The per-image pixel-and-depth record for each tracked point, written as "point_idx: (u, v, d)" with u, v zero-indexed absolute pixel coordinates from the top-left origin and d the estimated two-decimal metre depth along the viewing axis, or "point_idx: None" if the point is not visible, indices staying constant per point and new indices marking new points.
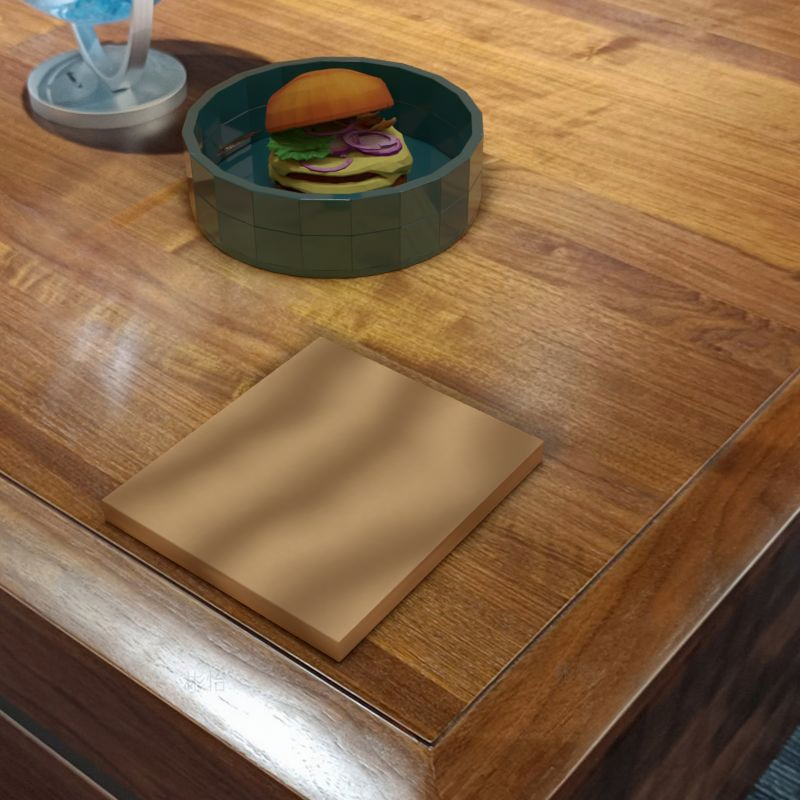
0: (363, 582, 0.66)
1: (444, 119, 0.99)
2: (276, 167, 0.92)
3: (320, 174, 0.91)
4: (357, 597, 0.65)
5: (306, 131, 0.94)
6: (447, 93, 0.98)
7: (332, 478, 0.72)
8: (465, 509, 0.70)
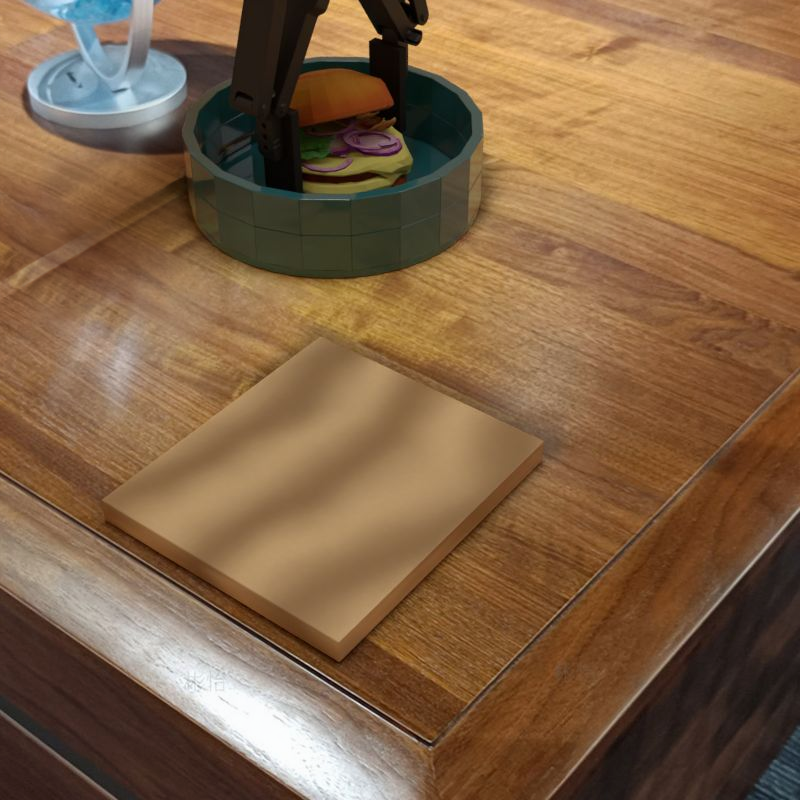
0: (363, 582, 0.66)
1: (444, 119, 0.99)
2: None
3: (320, 174, 0.91)
4: (357, 597, 0.65)
5: (306, 131, 0.94)
6: (447, 93, 0.98)
7: (332, 478, 0.72)
8: (465, 509, 0.70)
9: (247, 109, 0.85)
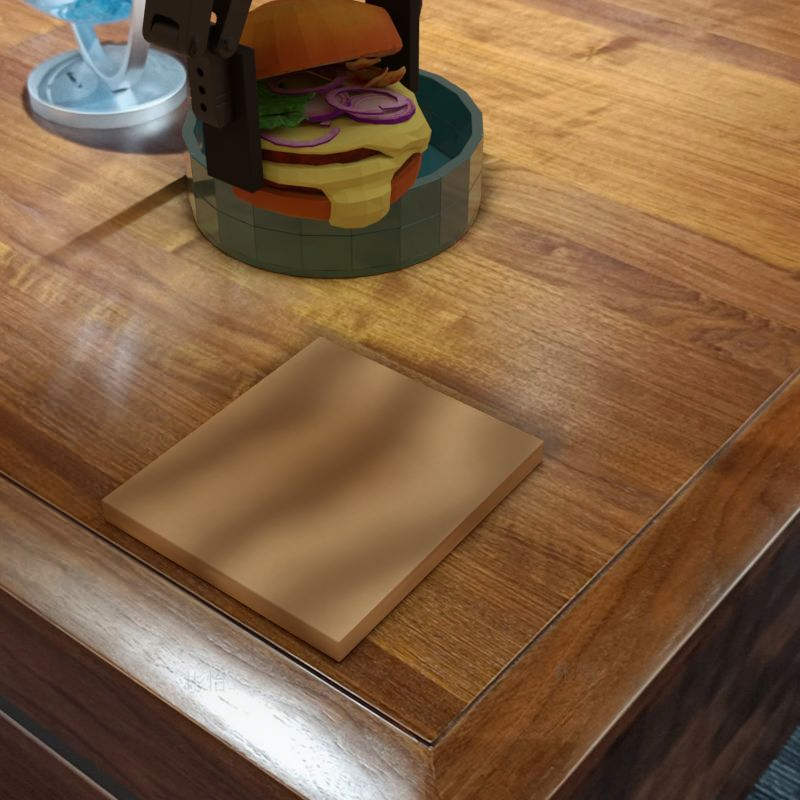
0: (363, 582, 0.66)
1: (444, 119, 0.99)
2: None
3: (290, 151, 0.59)
4: (357, 597, 0.65)
5: (270, 87, 0.62)
6: (447, 93, 0.98)
7: (332, 478, 0.72)
8: (465, 509, 0.70)
9: (171, 42, 0.53)
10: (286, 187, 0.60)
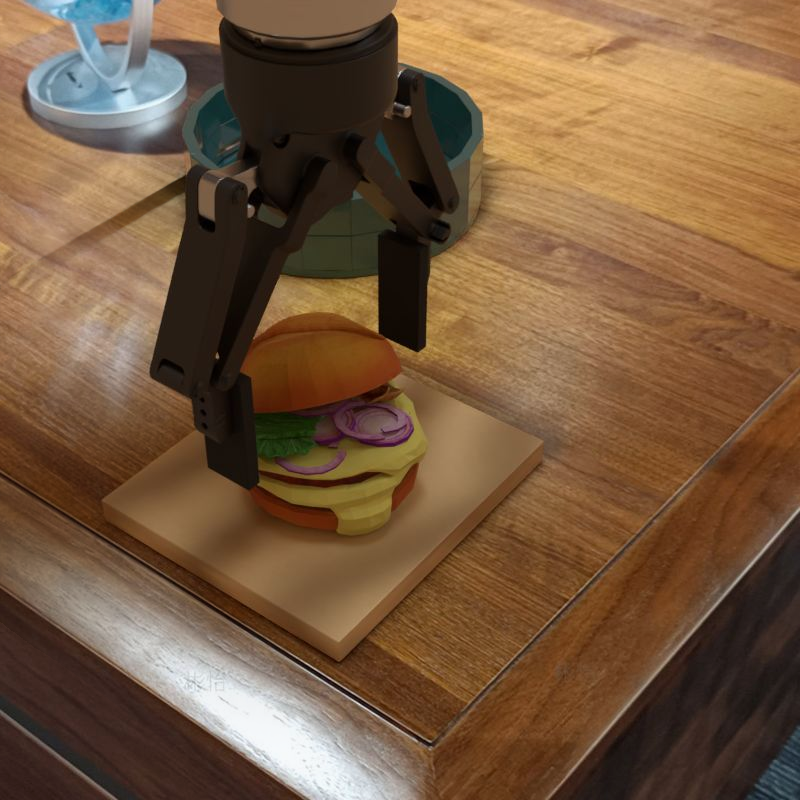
0: (363, 582, 0.66)
1: (444, 119, 0.99)
2: None
3: (302, 476, 0.66)
4: (357, 597, 0.65)
5: None
6: (447, 93, 0.98)
7: None
8: (465, 509, 0.70)
9: (175, 387, 0.58)
10: (298, 503, 0.67)
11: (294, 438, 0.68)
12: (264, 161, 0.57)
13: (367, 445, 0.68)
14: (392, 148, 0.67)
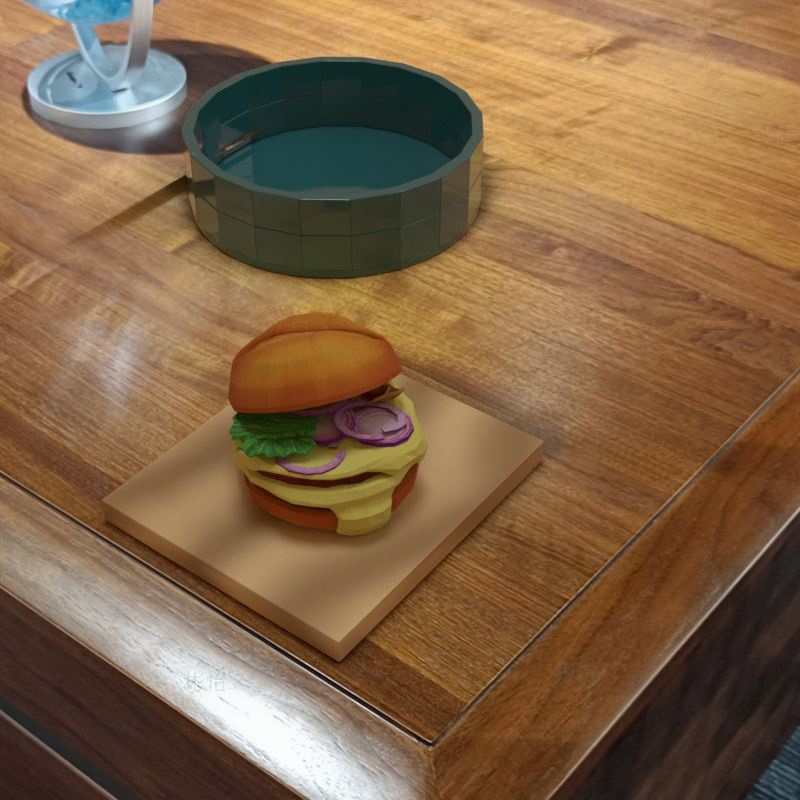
0: (363, 582, 0.66)
1: (444, 119, 0.99)
2: (242, 459, 0.68)
3: (301, 476, 0.66)
4: (357, 597, 0.65)
5: None
6: (447, 93, 0.98)
7: None
8: (465, 509, 0.70)
9: None
10: (298, 503, 0.67)
11: (294, 438, 0.68)
12: None
13: (367, 445, 0.68)
14: None
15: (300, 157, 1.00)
